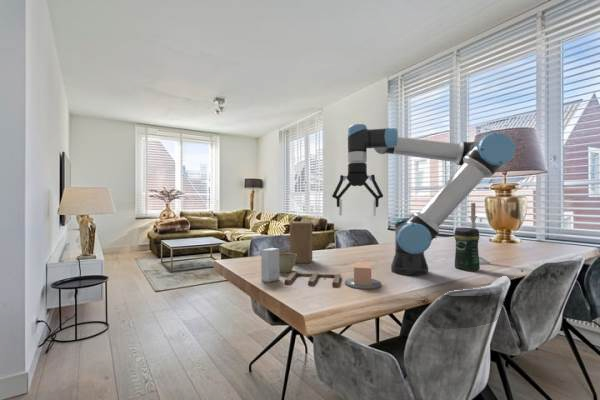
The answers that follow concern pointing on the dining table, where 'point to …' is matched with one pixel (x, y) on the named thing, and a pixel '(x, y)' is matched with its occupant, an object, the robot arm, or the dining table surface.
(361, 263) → the block
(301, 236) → the wooden block
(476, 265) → the coffee jar
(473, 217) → the candlestick
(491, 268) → the dining table surface
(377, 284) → the plate
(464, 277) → the dining table surface
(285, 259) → the flower pot
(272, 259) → the skincare box
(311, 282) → the rack
